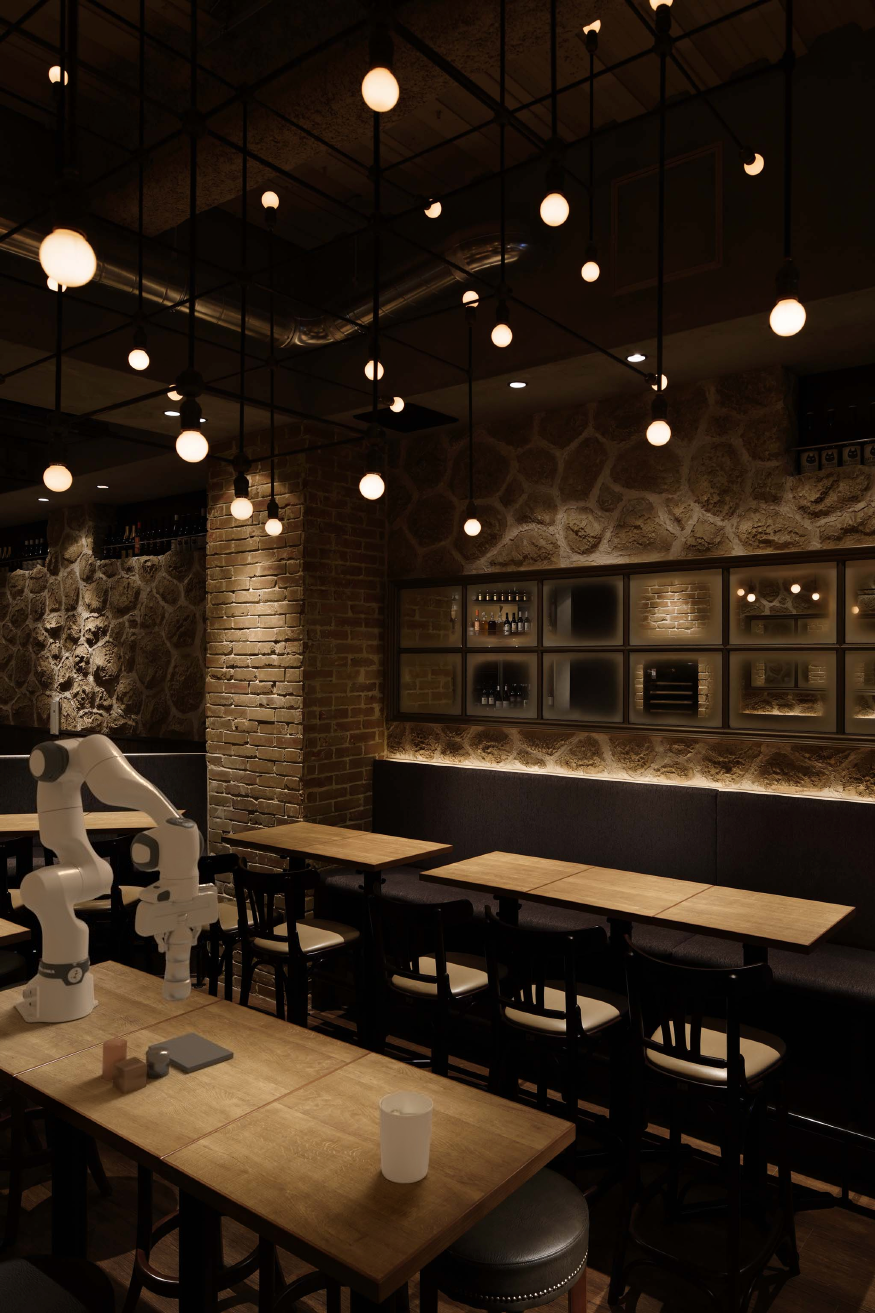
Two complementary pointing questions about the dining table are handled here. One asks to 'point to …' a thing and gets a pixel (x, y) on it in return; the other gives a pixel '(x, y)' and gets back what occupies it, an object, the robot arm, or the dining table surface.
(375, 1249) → the dining table surface
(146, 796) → the robot arm
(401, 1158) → the candle holder
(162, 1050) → the dark metal tin
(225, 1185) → the dining table surface
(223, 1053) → the charcoal board
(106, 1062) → the terracotta jar
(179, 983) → the plastic bottle
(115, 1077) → the walnut block
